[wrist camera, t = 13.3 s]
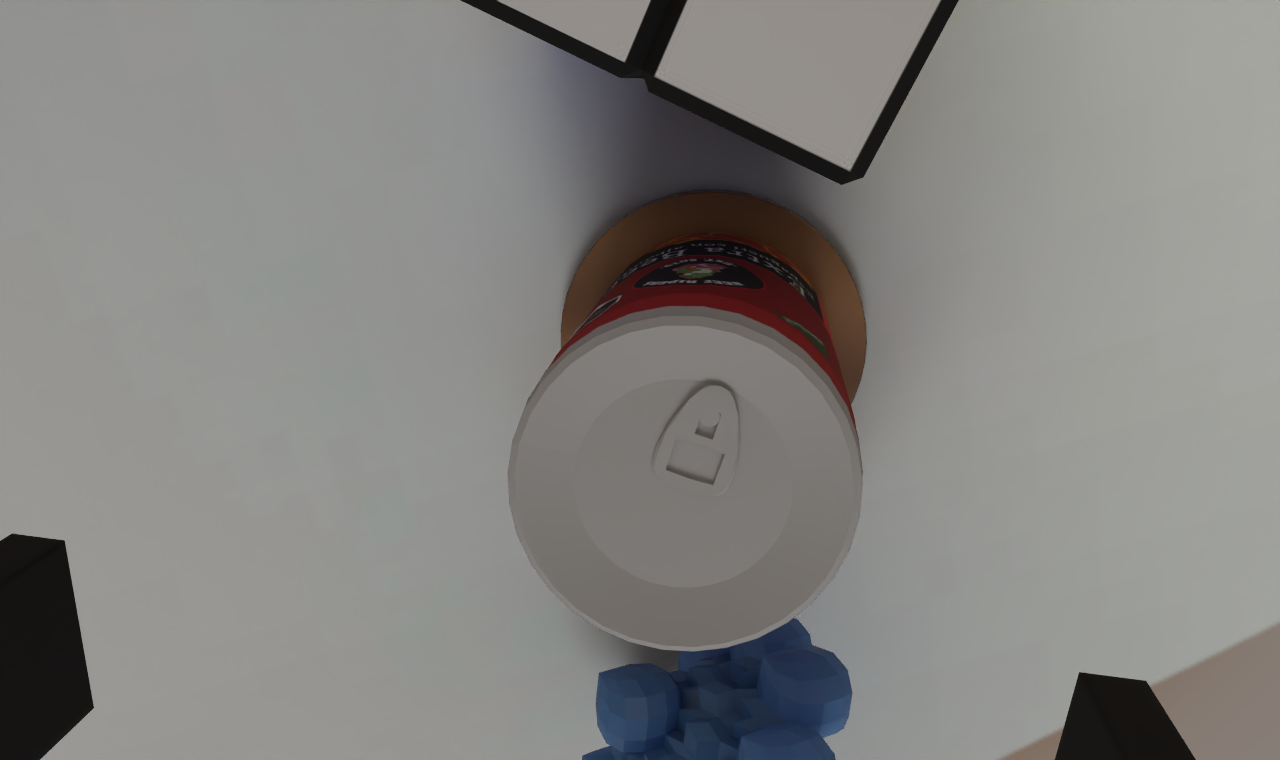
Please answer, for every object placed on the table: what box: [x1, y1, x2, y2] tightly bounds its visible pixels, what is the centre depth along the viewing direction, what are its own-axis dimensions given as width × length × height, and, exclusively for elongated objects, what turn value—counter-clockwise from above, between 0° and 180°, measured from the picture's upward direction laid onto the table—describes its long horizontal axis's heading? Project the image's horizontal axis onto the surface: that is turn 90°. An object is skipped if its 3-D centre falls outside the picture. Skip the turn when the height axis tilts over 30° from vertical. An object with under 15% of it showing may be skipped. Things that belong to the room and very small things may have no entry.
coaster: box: [561, 190, 867, 404], centre depth 29 cm, size 10×10×1 cm
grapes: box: [582, 618, 852, 760], centre depth 28 cm, size 12×7×12 cm, turn 137°
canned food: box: [508, 232, 863, 651], centre depth 24 cm, size 8×8×11 cm
